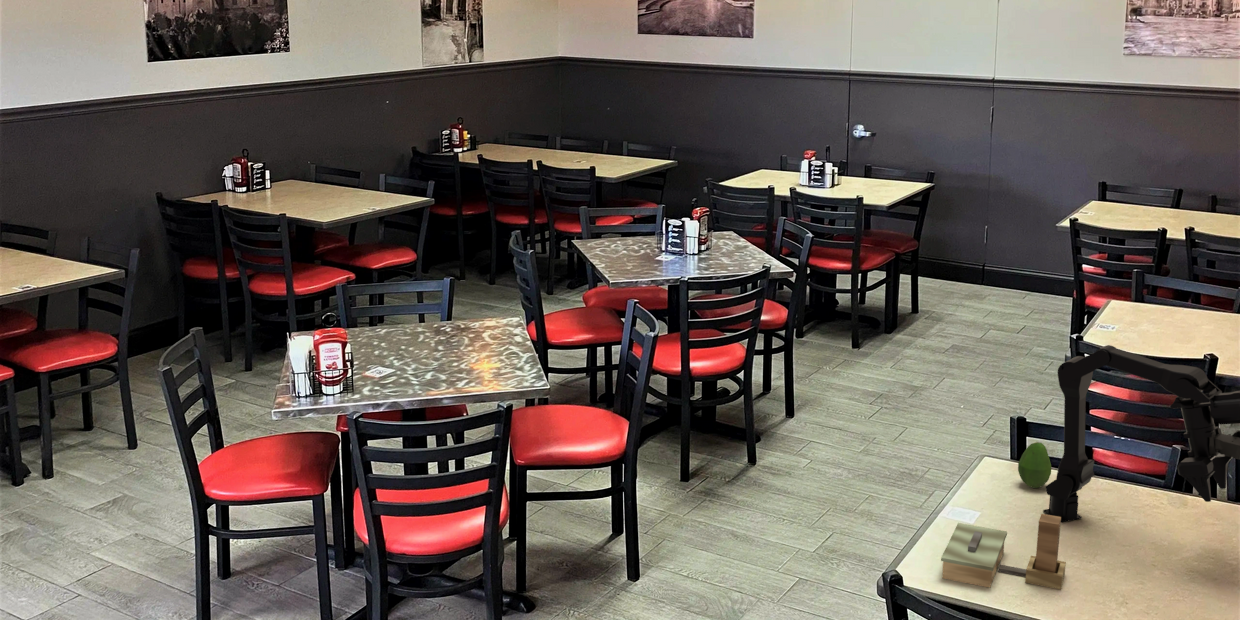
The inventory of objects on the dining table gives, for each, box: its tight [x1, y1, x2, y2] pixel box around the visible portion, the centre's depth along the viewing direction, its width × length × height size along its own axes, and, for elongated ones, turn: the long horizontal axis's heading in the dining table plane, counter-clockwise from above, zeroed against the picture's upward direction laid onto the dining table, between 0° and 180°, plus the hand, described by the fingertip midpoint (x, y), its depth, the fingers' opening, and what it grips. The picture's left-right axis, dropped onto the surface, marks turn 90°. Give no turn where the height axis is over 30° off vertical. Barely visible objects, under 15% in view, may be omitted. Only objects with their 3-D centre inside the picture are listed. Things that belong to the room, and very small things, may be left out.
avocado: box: [1017, 441, 1052, 489], centre depth 290 cm, size 8×8×12 cm
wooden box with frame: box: [940, 522, 1067, 590], centre depth 248 cm, size 19×24×6 cm
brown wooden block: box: [1035, 513, 1062, 573], centre depth 244 cm, size 4×4×14 cm
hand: (1215, 495), depth 248 cm, fingers open, 9 cm apart
